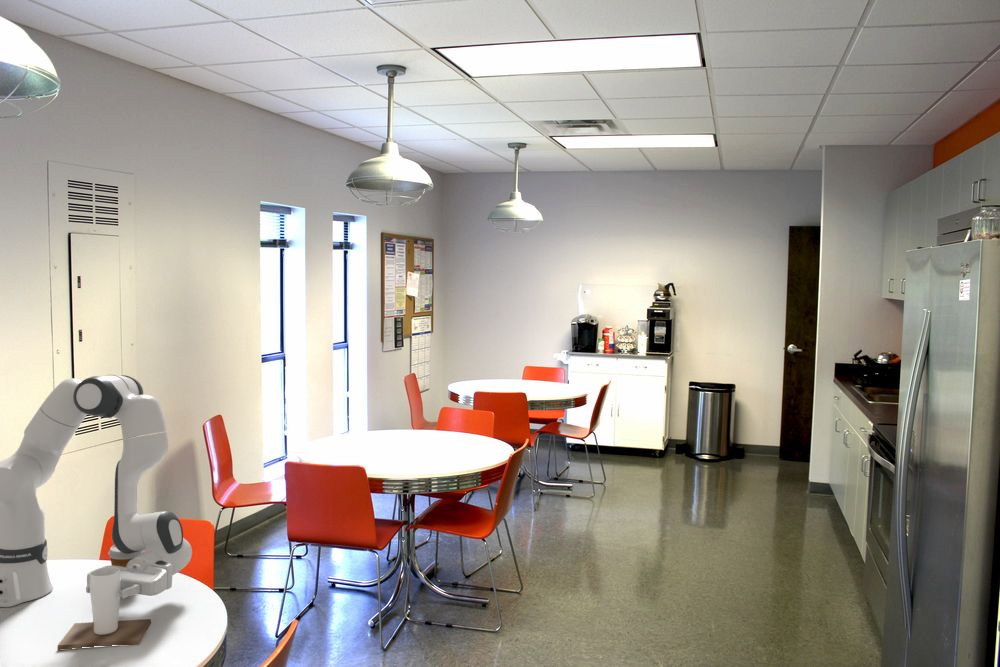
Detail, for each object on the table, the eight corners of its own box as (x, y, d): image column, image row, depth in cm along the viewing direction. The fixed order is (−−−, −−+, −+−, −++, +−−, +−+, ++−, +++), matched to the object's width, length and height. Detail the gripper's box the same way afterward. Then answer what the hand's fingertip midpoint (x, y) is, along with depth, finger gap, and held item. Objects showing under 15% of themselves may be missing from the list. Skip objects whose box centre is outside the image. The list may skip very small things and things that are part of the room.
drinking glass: (108, 638, 187) (107, 577, 186) (84, 635, 188) (83, 575, 187) (127, 626, 193) (126, 567, 192) (103, 623, 195) (102, 565, 194)
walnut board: (57, 650, 183) (57, 645, 183) (74, 627, 195) (74, 623, 195) (139, 644, 187) (139, 639, 187) (151, 623, 198) (151, 618, 198)
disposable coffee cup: (104, 595, 215) (104, 553, 214) (113, 582, 224) (113, 542, 223) (142, 593, 217) (141, 551, 216) (149, 580, 226) (148, 540, 225)
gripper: (109, 556, 205) (69, 575, 192) (176, 564, 200) (139, 584, 187) (110, 579, 206) (69, 599, 192) (177, 588, 201) (139, 610, 187)
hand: (104, 592), depth 190 cm, fingers open, 8 cm apart
